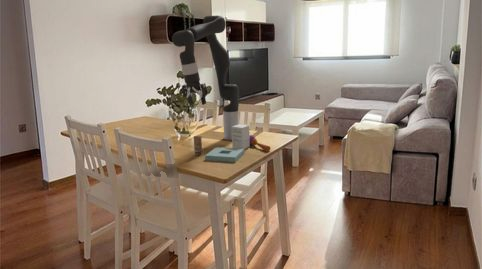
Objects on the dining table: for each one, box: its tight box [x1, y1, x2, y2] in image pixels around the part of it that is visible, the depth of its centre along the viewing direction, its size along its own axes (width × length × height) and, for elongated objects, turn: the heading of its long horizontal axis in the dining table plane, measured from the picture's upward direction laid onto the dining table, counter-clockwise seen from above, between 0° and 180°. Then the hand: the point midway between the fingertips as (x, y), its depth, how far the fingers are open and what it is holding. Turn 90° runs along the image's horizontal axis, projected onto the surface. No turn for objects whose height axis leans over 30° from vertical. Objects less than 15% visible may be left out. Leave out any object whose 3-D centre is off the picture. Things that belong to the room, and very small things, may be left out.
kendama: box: [250, 135, 271, 152], centre depth 218 cm, size 6×6×20 cm
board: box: [204, 147, 245, 163], centre depth 201 cm, size 16×16×2 cm
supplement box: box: [231, 123, 251, 150], centre depth 217 cm, size 7×7×13 cm
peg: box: [193, 135, 203, 157], centre depth 205 cm, size 4×4×10 cm
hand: (197, 104), depth 195 cm, fingers open, 8 cm apart
